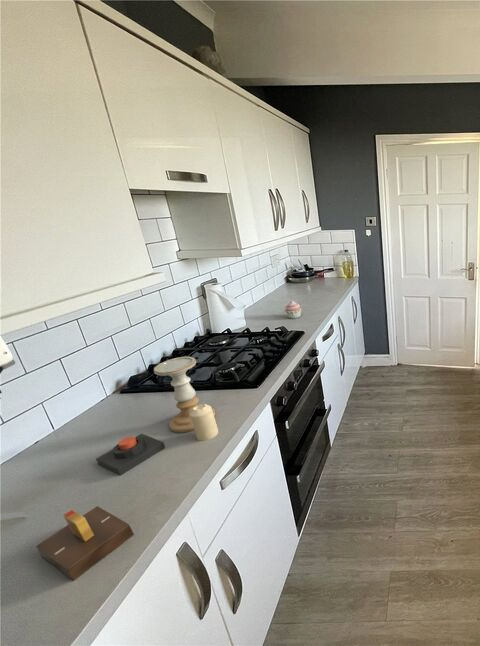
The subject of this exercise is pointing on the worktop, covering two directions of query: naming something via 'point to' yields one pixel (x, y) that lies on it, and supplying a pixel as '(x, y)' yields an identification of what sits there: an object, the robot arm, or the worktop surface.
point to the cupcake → (293, 310)
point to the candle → (203, 422)
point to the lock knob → (78, 525)
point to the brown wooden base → (85, 543)
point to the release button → (127, 443)
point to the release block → (130, 455)
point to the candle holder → (180, 391)
